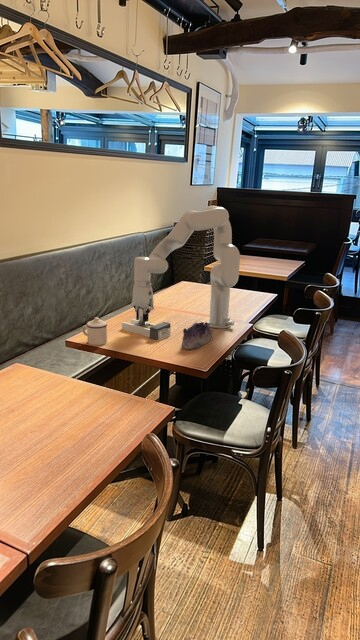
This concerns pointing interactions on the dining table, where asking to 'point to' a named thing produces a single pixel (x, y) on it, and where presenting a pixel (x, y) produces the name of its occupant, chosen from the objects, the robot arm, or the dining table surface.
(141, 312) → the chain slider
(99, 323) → the teacup with lid
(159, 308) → the dining table surface
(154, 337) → the track
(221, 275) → the robot arm
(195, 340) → the geode
